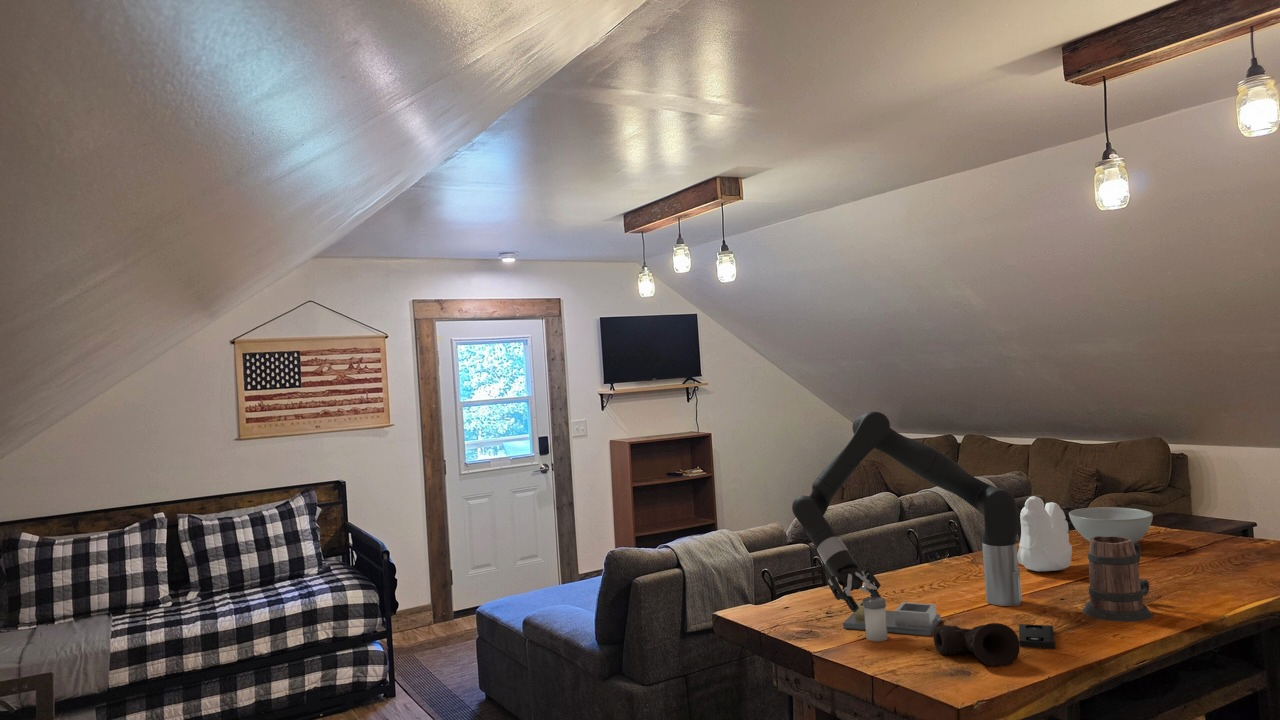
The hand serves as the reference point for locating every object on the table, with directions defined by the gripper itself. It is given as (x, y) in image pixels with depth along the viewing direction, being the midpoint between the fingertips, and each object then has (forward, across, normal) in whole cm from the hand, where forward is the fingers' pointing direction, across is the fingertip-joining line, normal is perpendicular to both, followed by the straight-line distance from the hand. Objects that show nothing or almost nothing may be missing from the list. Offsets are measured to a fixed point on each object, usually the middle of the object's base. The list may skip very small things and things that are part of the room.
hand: (868, 607), depth 223 cm
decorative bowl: (-10, +137, +20) cm, 138 cm away
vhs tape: (+26, +29, -14) cm, 41 cm away
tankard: (+24, +67, -14) cm, 72 cm away
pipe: (+25, +8, -14) cm, 30 cm away
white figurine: (-5, +94, +16) cm, 95 cm away
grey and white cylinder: (+7, 0, +4) cm, 8 cm away
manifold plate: (+3, +12, +8) cm, 14 cm away
